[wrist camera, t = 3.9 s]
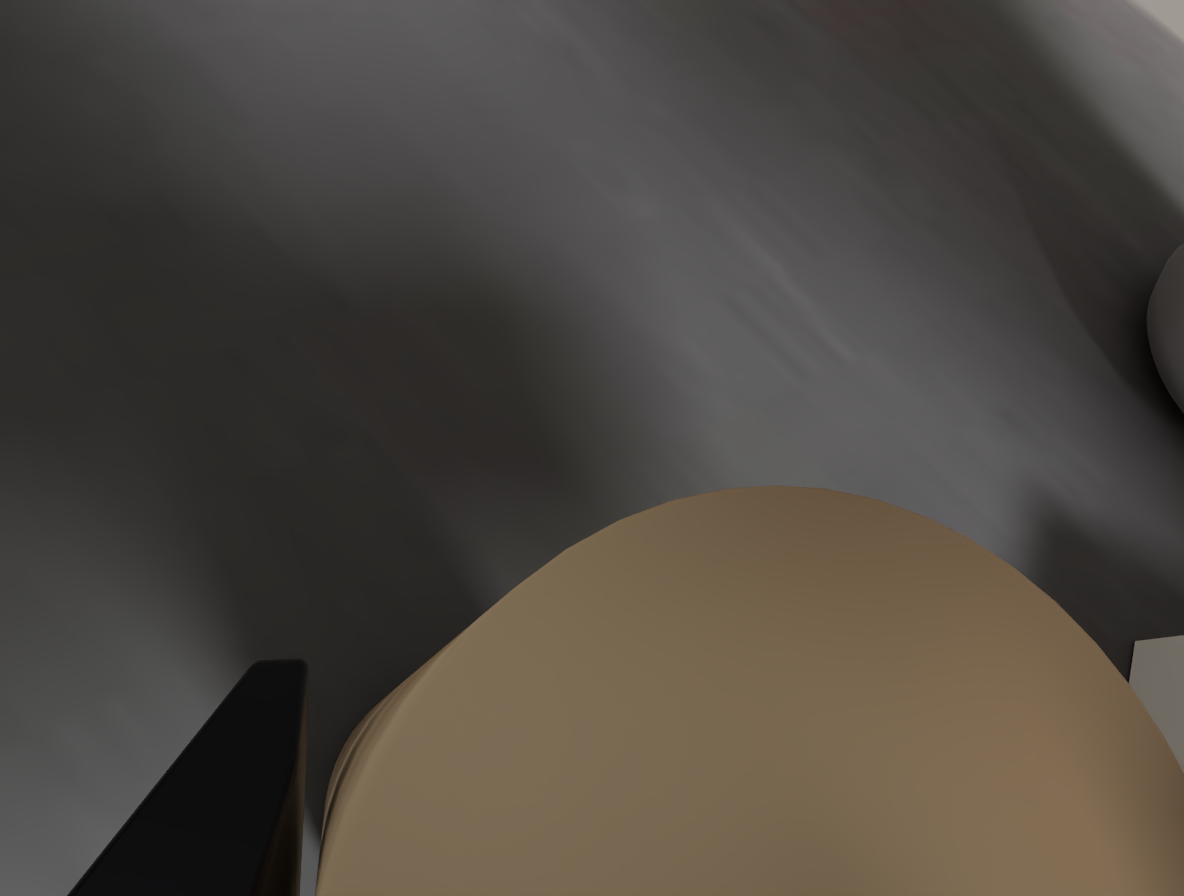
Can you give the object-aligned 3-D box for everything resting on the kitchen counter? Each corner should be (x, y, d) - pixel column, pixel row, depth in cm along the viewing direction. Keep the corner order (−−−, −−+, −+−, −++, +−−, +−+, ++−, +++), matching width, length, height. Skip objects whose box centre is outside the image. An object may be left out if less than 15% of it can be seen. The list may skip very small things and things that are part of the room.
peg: (364, 997, 12) (528, 2294, 2) (294, 721, 13) (166, 651, 3) (613, 880, 13) (1429, 1280, 3) (535, 638, 14) (1006, 401, 4)
